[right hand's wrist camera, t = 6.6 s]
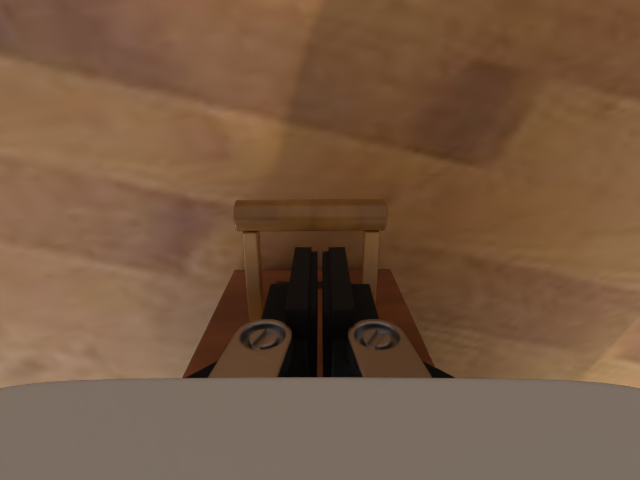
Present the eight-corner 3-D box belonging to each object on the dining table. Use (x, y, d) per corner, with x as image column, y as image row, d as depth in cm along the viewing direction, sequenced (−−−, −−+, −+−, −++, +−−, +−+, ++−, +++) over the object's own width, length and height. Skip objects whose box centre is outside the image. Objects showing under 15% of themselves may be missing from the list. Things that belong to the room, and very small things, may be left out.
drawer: (225, 176, 19) (153, 233, 10) (397, 175, 19) (463, 232, 10) (249, 431, 25) (216, 596, 16) (378, 429, 25) (410, 593, 17)
